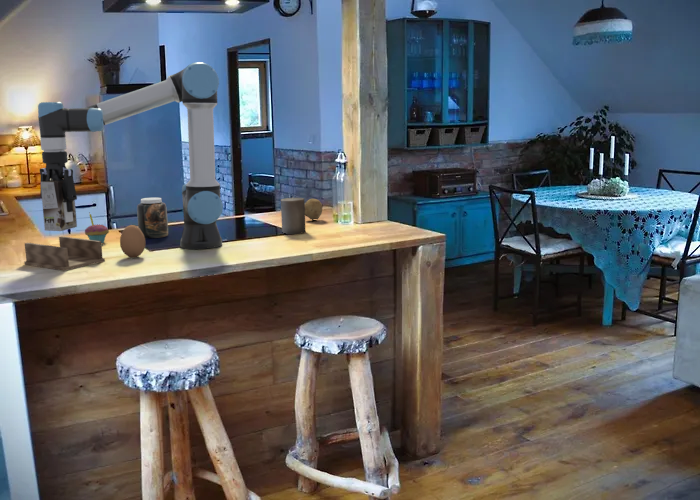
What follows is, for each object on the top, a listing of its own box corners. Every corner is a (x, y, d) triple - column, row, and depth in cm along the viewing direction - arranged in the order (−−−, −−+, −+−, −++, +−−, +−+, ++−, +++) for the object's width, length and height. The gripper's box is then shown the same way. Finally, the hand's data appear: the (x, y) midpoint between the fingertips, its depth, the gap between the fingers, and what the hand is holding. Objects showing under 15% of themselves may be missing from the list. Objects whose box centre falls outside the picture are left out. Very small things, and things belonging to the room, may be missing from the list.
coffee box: (61, 231, 228) (57, 181, 224) (44, 231, 229) (39, 181, 226) (78, 226, 236) (74, 178, 233) (60, 226, 238) (56, 178, 234)
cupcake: (87, 245, 265) (84, 214, 262) (84, 242, 272) (81, 211, 270) (111, 243, 268) (108, 212, 266) (107, 240, 276) (105, 209, 274)
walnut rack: (104, 261, 237) (103, 240, 235) (63, 270, 223) (61, 249, 222) (65, 255, 247) (63, 235, 245) (24, 264, 233) (22, 243, 232)
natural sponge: (300, 222, 313) (300, 199, 311) (305, 219, 322) (304, 197, 320) (320, 222, 312) (320, 199, 310) (324, 219, 320) (324, 197, 318)
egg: (122, 261, 237) (120, 227, 235) (119, 256, 244) (117, 224, 242) (148, 258, 240) (145, 225, 238) (144, 254, 247) (142, 222, 245)
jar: (132, 237, 281) (129, 200, 278) (150, 232, 291) (148, 196, 288) (156, 239, 276) (154, 201, 273) (174, 234, 287) (172, 197, 284)
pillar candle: (310, 231, 289) (309, 195, 286) (296, 235, 281) (294, 197, 278) (291, 230, 294) (290, 194, 291) (276, 233, 286) (275, 196, 283)
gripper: (85, 151, 226) (91, 221, 230) (44, 149, 236) (50, 217, 240) (65, 152, 219) (71, 224, 224) (23, 150, 230) (30, 220, 234)
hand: (60, 220), depth 232 cm, fingers closed on coffee box, 8 cm apart
